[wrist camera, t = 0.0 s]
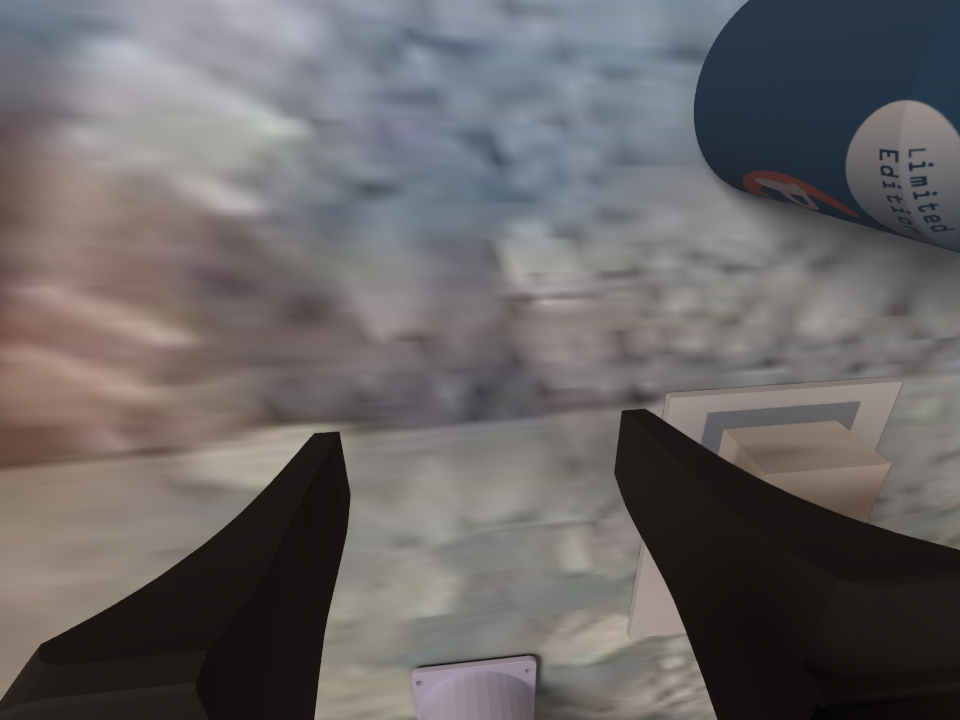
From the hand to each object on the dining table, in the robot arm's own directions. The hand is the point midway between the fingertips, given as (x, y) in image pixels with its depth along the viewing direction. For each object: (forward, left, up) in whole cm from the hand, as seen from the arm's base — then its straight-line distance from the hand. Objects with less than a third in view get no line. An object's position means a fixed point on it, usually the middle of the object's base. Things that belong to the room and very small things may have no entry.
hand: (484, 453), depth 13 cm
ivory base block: (-10, -16, -10) cm, 21 cm away
